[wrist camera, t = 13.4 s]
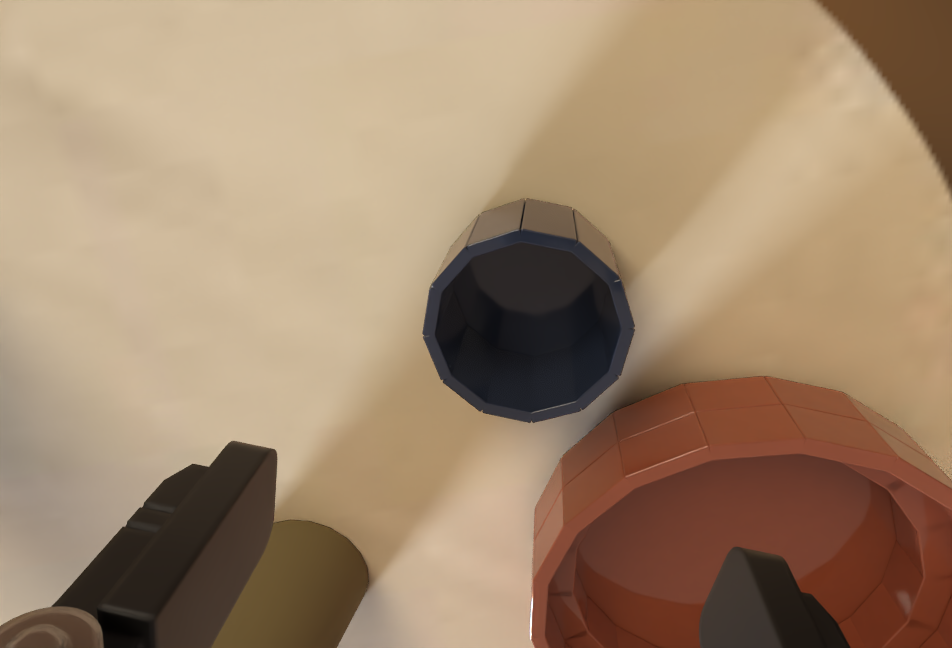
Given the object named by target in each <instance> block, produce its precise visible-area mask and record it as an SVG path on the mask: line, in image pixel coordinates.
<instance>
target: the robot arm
mask: <svg viewBox="0 0 952 648" xmlns="http://www.w3.org/2000/svg"><path fill="white" fill-rule="evenodd" d="M276 474H277V452H276V450H275V449H271V448H266V447H261V446H256V445H251V444H247V443H242V442H237V441H231V442H230V443H228V444H227V446H226V447H225V448H224V449H223V450H222V452H221V453H220V454H219V455H218V457H217V458H216V459H215V460H214V462H213V463H212V464H211V465H210V467H206V466H201V465H197V464H191V465H190V466H188V467H186V468H185V469H183V470H181V471H179V472H178V473H176V474H174V475H172V476H171V477H169V478H167V479H165V480H164V481H163V482H162V483H161V484H160V485H159V487H158V488H157V489H156V490H155V491H154V492H153V493H152V494H151V496H150V497H149V498H148V499H147V500H146V501H145V502H144V505H143V507H142V508H139V509H138V510H137V511H136V512H135V514H134V515H133V516H132V517H131V518H130V519H129V520H128V522H127V525H126V527H122V528H121V529H120V531H119V532H118V533H117V534H116V535H115V536H114V537H113V538H112V540H111V541H110V542H109V543H108V544H107V545H106V546H105V548H104V549H103V550H102V551H101V552H100V553H99V554H98V555H97V557H96V558H95V559H94V560H93V561H92V562H91V563H90V564H89V566H88V567H87V568H86V569H85V570H84V571H83V572H82V573H81V575H80V576H79V577H78V578H77V579H76V580H75V581H74V583H73V584H72V585H71V586H70V587H69V588H68V589H67V590H66V592H65V593H64V594H63V595H62V596H61V597H60V598H59V599H58V600H57V601H56V603H55V604H54V605H53V606H52V607H48V608H43V609H38V610H34V611H31V612H28V613H25V614H23V615H20V616H18V617H16V618H13V619H11V620H10V621H8V622H6V623H4V624H3V625H1V626H0V648H211V647H212V645H213V643H214V641H215V639H216V638H217V636H218V634H219V632H220V630H221V629H222V627H223V625H224V623H225V621H226V620H227V618H228V616H229V614H230V612H231V611H232V609H233V607H234V605H235V603H236V602H237V600H238V598H239V596H240V594H241V593H242V591H243V589H244V587H245V585H246V584H247V582H248V580H249V578H250V576H251V575H252V573H253V571H254V569H255V567H256V566H257V564H258V562H259V560H260V558H261V557H262V555H263V553H264V551H265V549H266V546H267V544H268V541H269V538H270V534H271V531H272V527H273V521H274V510H275V492H276ZM699 641H700V647H701V648H850V646H849V644H848V642H847V640H846V638H845V636H844V634H843V632H842V630H841V628H840V627H839V625H838V623H837V622H836V621H835V619H834V618H833V617H832V616H831V615H830V614H829V613H828V612H827V611H826V609H825V608H824V607H823V606H822V605H821V604H820V603H819V602H818V601H817V600H816V598H815V597H814V596H813V595H812V594H809V593H804V592H801V591H800V588H799V586H798V584H797V582H796V580H795V578H794V576H793V574H792V572H791V570H790V568H789V566H788V564H787V562H786V561H785V559H784V558H783V557H781V556H779V555H775V554H770V553H766V552H761V551H756V550H751V549H746V548H741V547H733V548H732V549H731V550H730V551H729V552H728V554H727V556H726V558H725V560H724V562H723V565H722V567H721V569H720V571H719V573H718V576H717V578H716V580H715V582H714V584H713V587H712V589H711V591H710V593H709V595H708V597H707V600H706V602H705V604H704V606H703V609H702V612H701V616H700V622H699Z"/></svg>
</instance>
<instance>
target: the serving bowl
mask: <svg viewBox="0 0 952 648" xmlns="http://www.w3.org/2000/svg"><path fill="white" fill-rule="evenodd" d="M733 547H741V548H746V549H751V550H756V551H761V552H766V553H770V554H775V555H779V556H781V557H783V558H784V559H785V561H786V562H787V564H788V566H789V568H790V570H791V572H792V574H793V576H794V578H795V580H796V582H797V584H798V586H799V588H800V591H801V592H804V593H809V594H812V595H813V596H814V597H815V598H816V600H817V601H818V602H819V603H820V604H821V605H822V606H823V607H824V608H825V609H826V611H827V612H828V613H829V614H830V615H831V616H832V617H833V618H834V619H835V621H836V622H837V623H838V625H839V627H840V628H841V630H842V632H843V634H844V636H845V638H846V640H847V642H848V644H849V646H850V648H952V481H951V480H950V479H949V477H948V476H947V475H946V474H945V473H944V472H943V471H942V470H941V469H940V468H939V467H938V466H937V465H936V464H935V463H934V461H933V460H932V459H931V458H930V457H929V456H928V455H927V454H926V453H925V452H924V451H923V450H922V449H921V448H920V447H919V446H918V444H917V443H916V442H915V441H914V440H913V439H912V438H911V437H910V436H909V435H908V434H907V433H906V432H905V431H904V430H903V429H902V428H901V427H899V426H897V425H896V424H894V423H893V422H891V421H889V420H888V419H886V418H884V417H883V416H881V415H879V414H878V413H876V412H875V411H873V410H871V409H870V408H868V407H866V406H865V405H863V404H861V403H860V402H858V401H857V400H855V399H853V398H852V397H850V396H848V395H847V394H845V393H843V392H840V391H836V390H831V389H826V388H821V387H816V386H811V385H807V384H802V383H797V382H792V381H787V380H783V379H778V378H773V377H768V376H764V377H763V376H757V377H746V378H736V379H725V380H715V381H705V382H694V383H685V384H680V385H678V386H675V387H673V388H670V389H668V390H665V391H663V392H661V393H658V394H656V395H653V396H651V397H648V398H646V399H643V400H641V401H639V402H636V403H634V404H631V405H629V406H626V407H624V408H622V409H619V410H617V411H614V412H613V413H611V414H610V415H609V416H608V417H607V418H606V419H604V420H603V421H602V422H601V423H600V424H599V425H598V426H596V427H595V428H594V429H593V430H592V431H591V432H589V433H588V434H587V435H586V436H585V437H584V438H582V439H581V440H580V441H579V442H578V443H577V444H575V445H574V446H573V447H572V448H571V449H570V450H568V451H567V452H566V453H565V454H564V455H563V457H562V458H561V459H560V461H559V463H558V465H557V467H556V469H555V471H554V473H553V474H552V476H551V478H550V480H549V482H548V484H547V486H546V488H545V490H544V492H543V494H542V495H541V497H540V499H539V501H538V503H537V505H536V508H535V517H534V537H533V558H532V586H531V614H530V638H531V640H532V643H533V645H534V647H535V648H701V647H700V641H699V622H700V616H701V612H702V609H703V606H704V604H705V602H706V600H707V597H708V595H709V593H710V591H711V589H712V587H713V584H714V582H715V580H716V578H717V576H718V573H719V571H720V569H721V567H722V565H723V562H724V560H725V558H726V556H727V554H728V552H729V551H730V550H731V549H732V548H733Z"/></svg>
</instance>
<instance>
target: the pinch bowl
mask: <svg viewBox="0 0 952 648" xmlns="http://www.w3.org/2000/svg"><path fill="white" fill-rule="evenodd" d="M634 327H635V325H634V321H633V318H632V314H631V311H630V307H629V304H628V300H627V297H626V294H625V290H624V287H623V283H622V280H621V276H620V273H619V270H618V267H617V264H616V261H615V258H614V254H613V251H612V248H611V245H610V242H609V241H608V239H607V237H606V236H605V235H603V234H602V233H601V232H600V231H599V230H598V229H597V228H596V227H595V226H593V225H592V224H591V223H590V222H589V221H588V220H587V219H586V218H584V217H583V216H582V215H581V214H580V213H579V212H578V211H577V210H576V209H573V210H572V207H568V206H563V205H558V204H553V203H549V202H543V201H538V200H533V199H528V198H527V199H526V201H525V199H521V200H518V201H515V202H512V203H509V204H506V205H503V206H500V207H497V208H494V209H491V210H488V211H485V212H482V213H481V215H478V216H477V217H476V218H475V219H474V220H473V222H472V223H471V224H470V225H469V226H468V227H467V228H466V230H465V231H464V232H463V233H462V234H461V235H460V237H459V238H458V239H457V240H456V241H455V242H454V243H453V245H452V246H451V247H450V249H449V251H448V253H447V255H446V257H445V259H444V261H443V263H442V265H441V267H440V269H439V271H438V273H437V274H436V276H435V278H434V280H433V282H432V284H431V286H430V288H429V295H428V301H427V308H426V314H425V320H424V327H423V335H424V336H423V339H424V341H425V343H426V346H427V348H428V350H429V353H430V355H431V358H432V360H433V362H434V365H435V367H436V369H437V372H438V374H439V376H440V379H441V380H443V383H444V384H446V385H447V386H448V387H449V388H451V389H452V390H453V391H455V392H456V393H457V394H458V395H460V396H461V397H462V398H463V399H465V400H466V401H467V402H468V403H470V404H471V405H472V406H474V407H475V408H476V409H477V410H479V411H482V410H483V411H482V412H483V413H486V414H490V415H495V416H500V417H504V418H509V419H514V420H519V421H523V422H528V423H530V422H531V420H532V422H533V423H535V422H539V421H543V420H547V419H551V418H555V417H559V416H563V415H567V414H571V413H575V412H579V411H581V409H582V410H583V409H585V408H586V407H587V406H588V405H589V404H590V403H591V402H593V401H594V400H595V399H596V398H597V397H598V396H599V395H600V394H602V393H603V392H604V391H605V390H606V389H607V388H608V387H609V386H611V385H612V384H613V383H614V382H615V381H616V380H617V379H618V378H619V376H620V375H621V373H622V370H623V367H624V363H625V360H626V357H627V354H628V351H629V347H630V344H631V341H632V338H633V335H634V331H635V329H634Z"/></svg>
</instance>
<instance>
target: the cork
mask: <svg viewBox="0 0 952 648" xmlns="http://www.w3.org/2000/svg"><path fill="white" fill-rule="evenodd" d="M368 582H369V581H368V571H367V566H366V564H365V562H364V560H363V558H362V556H361V554H360V552H359V551H358V550H357V549H356V548H355V547H354V546H353V545H352V543H351V542H350V541H349V540H348V539H347V538H345V537H344V536H342V535H340V534H339V533H337V532H336V531H334V530H332V529H331V528H329V527H326V526H323V525H320V524H316V523H313V522H310V521H298V520H287V521H282V522H277V523H273V527H272V531H271V534H270V538H269V541H268V544H267V546H266V549H265V551H264V553H263V555H262V557H261V558H260V560H259V562H258V564H257V566H256V567H255V569H254V571H253V573H252V575H251V576H250V578H249V580H248V582H247V584H246V585H245V587H244V589H243V591H242V593H241V594H240V596H239V598H238V600H237V602H236V603H235V605H234V607H233V609H232V611H231V612H230V614H229V616H228V618H227V620H226V621H225V623H224V625H223V627H222V629H221V630H220V632H219V634H218V636H217V638H216V639H215V641H214V643H213V645H212V647H211V648H337V646H338V644H339V642H340V640H341V639H342V637H343V635H344V633H345V631H346V629H347V627H348V625H349V623H350V621H351V619H352V618H353V616H354V614H355V612H356V610H357V608H358V606H359V604H360V602H361V600H362V598H363V597H364V594H365V591H366V588H367V585H368Z"/></svg>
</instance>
